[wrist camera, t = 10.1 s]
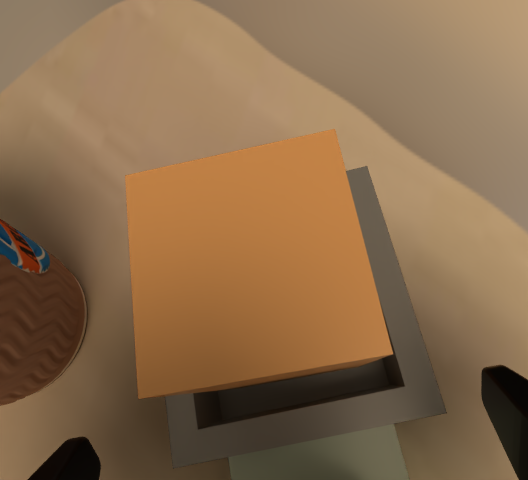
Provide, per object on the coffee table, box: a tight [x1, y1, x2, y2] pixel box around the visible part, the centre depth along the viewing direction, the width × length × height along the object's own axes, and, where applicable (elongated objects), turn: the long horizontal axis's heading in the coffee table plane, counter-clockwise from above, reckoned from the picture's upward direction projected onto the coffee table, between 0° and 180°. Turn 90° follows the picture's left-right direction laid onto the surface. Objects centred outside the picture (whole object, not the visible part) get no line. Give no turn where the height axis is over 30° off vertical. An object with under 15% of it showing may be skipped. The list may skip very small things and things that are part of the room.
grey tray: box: [165, 166, 447, 480], centre depth 16 cm, size 16×9×5 cm, turn 12°
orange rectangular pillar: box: [125, 129, 393, 399], centre depth 14 cm, size 5×5×10 cm
